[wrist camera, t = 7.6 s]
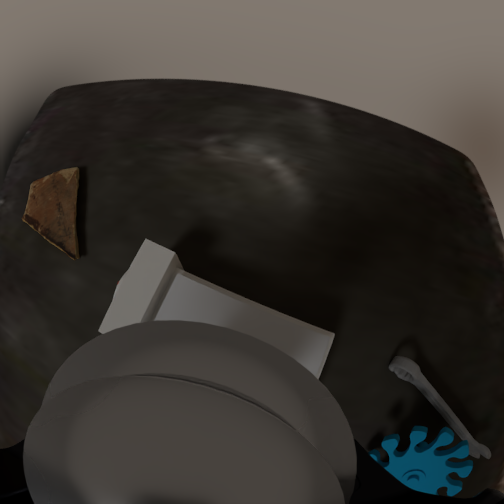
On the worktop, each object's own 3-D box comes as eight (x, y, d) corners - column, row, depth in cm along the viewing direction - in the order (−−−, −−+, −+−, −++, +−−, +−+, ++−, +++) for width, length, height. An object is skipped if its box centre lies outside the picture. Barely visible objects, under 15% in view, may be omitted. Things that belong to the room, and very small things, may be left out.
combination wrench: (402, 363, 17) (488, 466, 12) (412, 350, 17) (495, 456, 13) (379, 364, 20) (467, 462, 16) (388, 353, 21) (474, 453, 16)
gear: (353, 436, 16) (482, 423, 10) (374, 406, 21) (476, 392, 15) (352, 522, 14) (456, 520, 8) (373, 488, 18) (461, 482, 12)
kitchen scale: (264, 471, 16) (272, 493, 12) (92, 390, 17) (66, 395, 13) (325, 330, 21) (346, 324, 17) (154, 257, 22) (140, 236, 18)
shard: (83, 265, 21) (73, 258, 20) (25, 282, 20) (15, 276, 18) (84, 171, 25) (78, 161, 23) (32, 192, 24) (24, 184, 22)
